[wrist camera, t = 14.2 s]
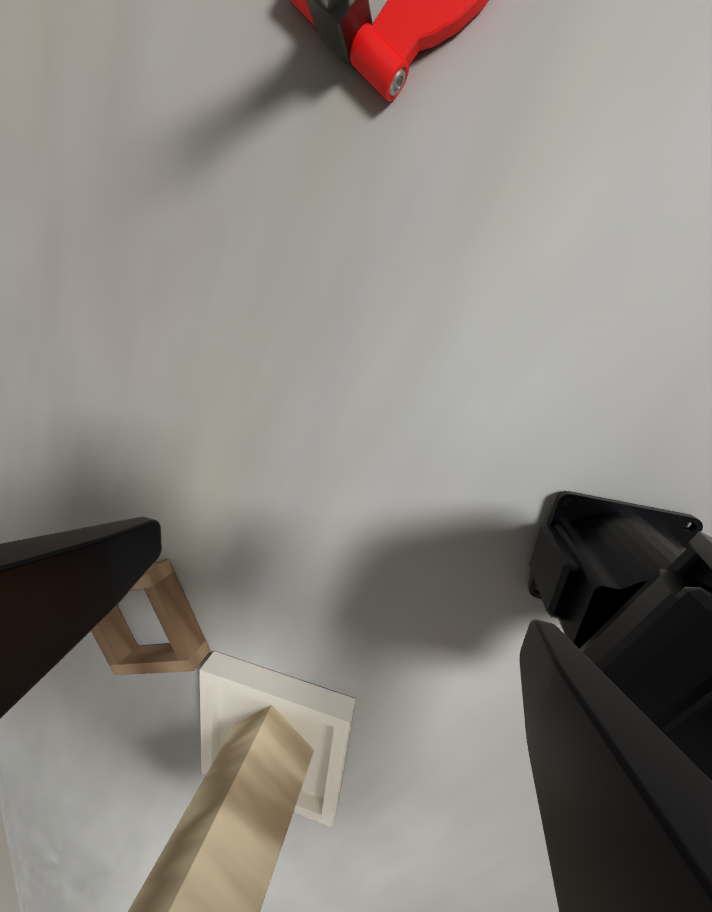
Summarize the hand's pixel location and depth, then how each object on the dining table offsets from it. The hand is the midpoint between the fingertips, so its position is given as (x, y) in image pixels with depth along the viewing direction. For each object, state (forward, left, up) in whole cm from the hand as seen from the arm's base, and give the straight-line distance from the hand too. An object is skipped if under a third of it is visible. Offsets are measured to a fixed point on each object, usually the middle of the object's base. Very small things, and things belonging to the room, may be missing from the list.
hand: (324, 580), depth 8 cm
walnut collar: (+18, +18, -13) cm, 29 cm away
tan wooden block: (+6, +26, -12) cm, 29 cm away
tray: (+6, +26, -13) cm, 30 cm away
